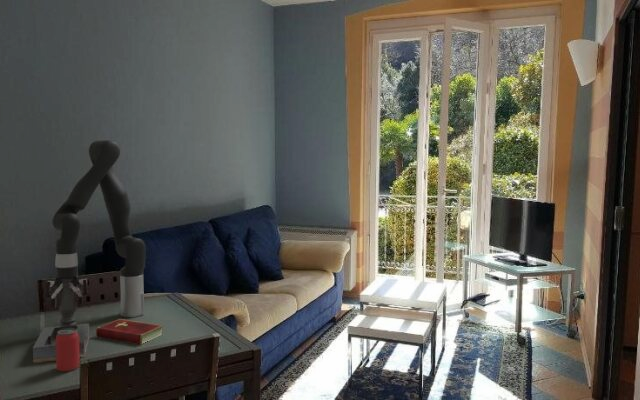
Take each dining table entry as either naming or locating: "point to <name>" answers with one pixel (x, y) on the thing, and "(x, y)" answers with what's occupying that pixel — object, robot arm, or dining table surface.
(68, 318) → the candle holder
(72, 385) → the dining table surface
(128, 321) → the hardcover book
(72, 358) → the beer can
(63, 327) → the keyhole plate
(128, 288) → the robot arm
